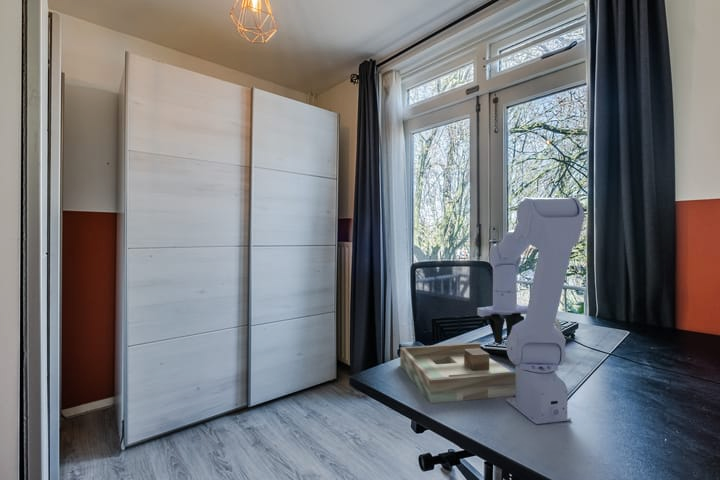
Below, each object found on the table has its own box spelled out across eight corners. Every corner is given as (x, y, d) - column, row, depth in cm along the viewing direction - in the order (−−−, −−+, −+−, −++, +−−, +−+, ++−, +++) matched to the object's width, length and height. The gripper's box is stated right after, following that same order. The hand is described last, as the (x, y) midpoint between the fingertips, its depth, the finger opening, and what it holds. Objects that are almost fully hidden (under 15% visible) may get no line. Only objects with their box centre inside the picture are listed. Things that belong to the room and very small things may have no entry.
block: (489, 369, 84) (489, 354, 84) (472, 371, 83) (472, 355, 83) (479, 363, 88) (479, 348, 88) (464, 364, 87) (464, 349, 87)
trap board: (529, 394, 76) (529, 372, 76) (430, 403, 72) (430, 380, 71) (478, 359, 97) (478, 342, 97) (400, 365, 93) (400, 347, 93)
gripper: (519, 287, 92) (519, 336, 92) (471, 289, 89) (471, 339, 89) (537, 291, 85) (537, 344, 85) (485, 293, 82) (485, 347, 82)
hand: (504, 342), depth 87 cm, fingers open, 3 cm apart
